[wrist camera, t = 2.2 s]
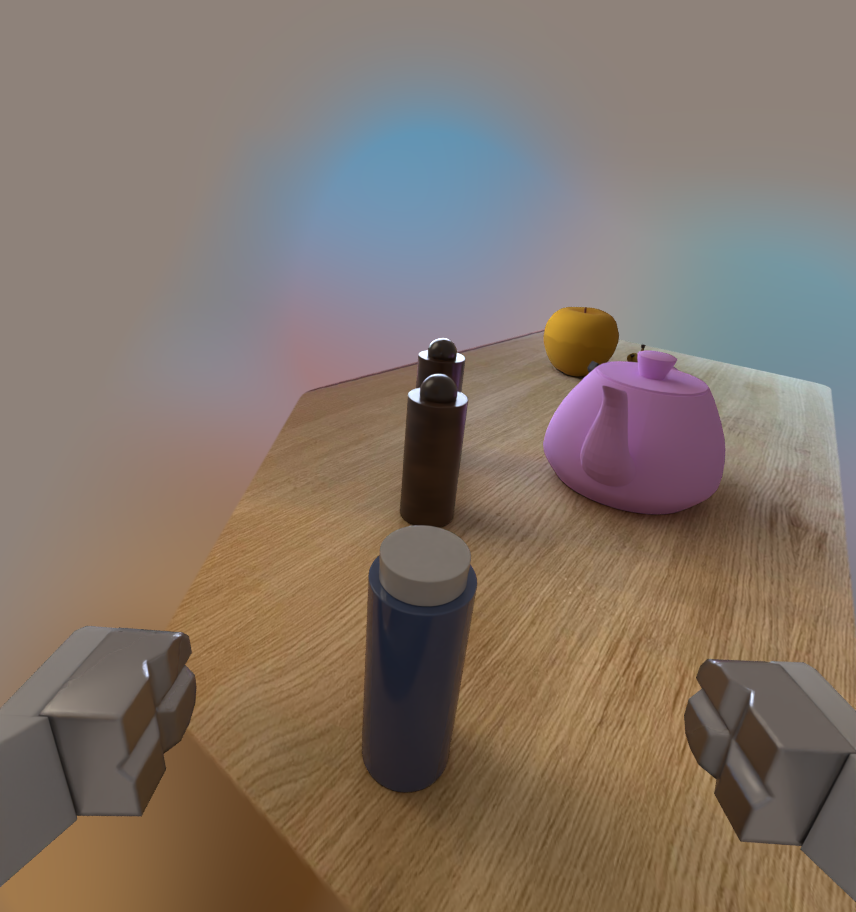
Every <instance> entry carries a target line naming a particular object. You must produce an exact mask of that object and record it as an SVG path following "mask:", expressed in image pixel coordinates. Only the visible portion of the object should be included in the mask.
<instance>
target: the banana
mask: <svg viewBox="0 0 856 912" xmlns="http://www.w3.org/2000/svg"><path fill="white" fill-rule="evenodd" d="M645 346H646V345H641V348H642V350H641V351H644V348H645ZM637 357H638V354H636V353H632V354H630V355H628V356H627V361H628V362H638V359H637Z"/></svg>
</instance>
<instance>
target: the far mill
mask: <svg viewBox="0 0 856 912" xmlns="http://www.w3.org/2000/svg"><path fill="white" fill-rule="evenodd" d="M464 366H465V357H464V356H463V355H461V354H458V353H457V349H456V347H455V345H454V343H453V342H452V341H450V340H449V339H446V338H439V339H436V340H434V341H433V342H432V343H431V344H430V346H429V348H428V350H427V351H422V352H420V353H419V356H418V368H417V381H416V389H417V388H420V387H421V385H422V383H423V381H424V380H425V379H426V378H428V377H429V376H431V375H434V374H443V375H446V376H448V377H450V378H451V379H452V380H453V381H454V383H455V384H456V387H457V391H458V392H460V393H461V391H462V383H463V375H464Z"/></svg>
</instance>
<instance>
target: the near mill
mask: <svg viewBox="0 0 856 912" xmlns="http://www.w3.org/2000/svg"><path fill="white" fill-rule="evenodd" d="M467 405H468V398H467V397H466V396H465V395H464V394H462V393H460V392H458V391H457V387H456V384H455V383H454V381H453V380H452V379H451V378H450V377H448V376H446V375H443V374H434V375H431V376H429V377H428V378H426V379H425V380H424V381H423V383H422V385H421V387H420V388H417V389H414V390H412V391H410V392H409V394H408V403H407V417H406V431H405V445H404V460H403V474H402V488H401V502H400V514H401V516H402V518H403V519H404V520H405V521H407V522H408V523H410V524H412V525H414V526H418V525H424V526H433V527H442V526H444V525H446V524H448V523H449V522H450V521H451V520H452V519H453V515H454V507H455V499H456V491H457V484H458V476H459V468H460V460H461V452H462V445H463V437H464V429H465V421H466V413H467Z"/></svg>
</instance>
